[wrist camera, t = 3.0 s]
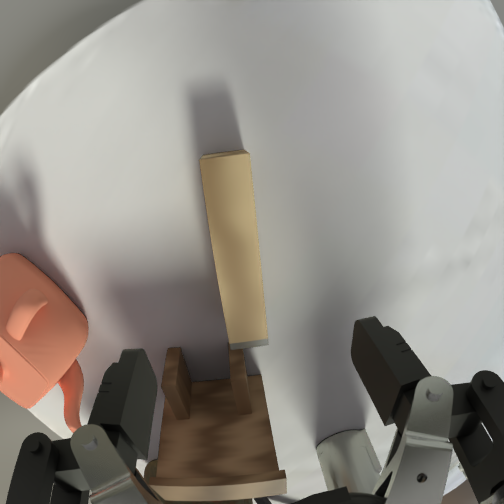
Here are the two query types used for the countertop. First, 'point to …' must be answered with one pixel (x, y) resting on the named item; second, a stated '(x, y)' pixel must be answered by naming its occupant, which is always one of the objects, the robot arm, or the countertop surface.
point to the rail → (235, 245)
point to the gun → (262, 500)
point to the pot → (39, 338)
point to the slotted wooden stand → (215, 436)
